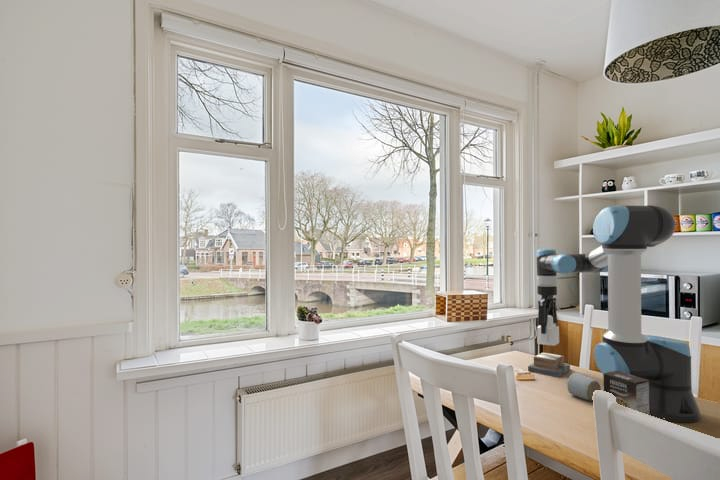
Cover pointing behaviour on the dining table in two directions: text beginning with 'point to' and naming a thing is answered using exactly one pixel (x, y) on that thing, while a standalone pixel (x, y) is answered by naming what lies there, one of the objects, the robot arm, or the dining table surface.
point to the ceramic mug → (582, 386)
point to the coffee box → (628, 390)
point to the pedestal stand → (549, 364)
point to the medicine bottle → (549, 332)
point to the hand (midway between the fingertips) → (548, 339)
